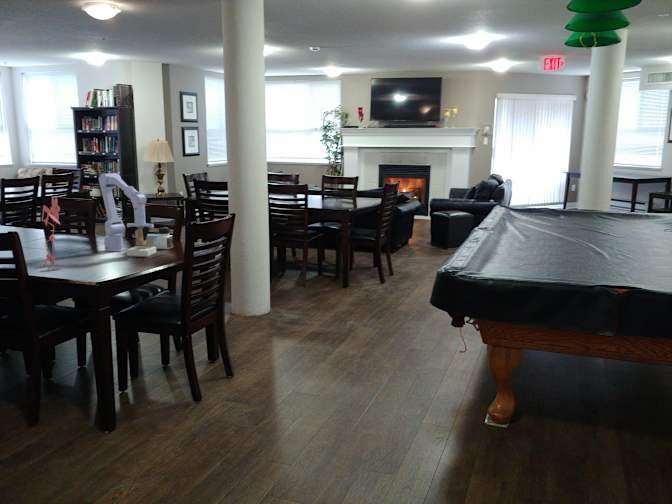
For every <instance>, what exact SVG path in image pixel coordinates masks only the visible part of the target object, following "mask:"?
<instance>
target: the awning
mask: <svg viewBox="0 0 672 504" xmlns="http://www.w3.org/2000/svg"><path fill="white" fill-rule="evenodd" d="M160 236H161V234H159V233H148V235H147V239H146V244H145V245H143V246H150V247H156V238H158V237H160ZM133 237H134V238H135V236H133Z"/></svg>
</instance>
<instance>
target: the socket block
mask: <svg viewBox="0 0 672 504" xmlns="http://www.w3.org/2000/svg"><path fill="white" fill-rule="evenodd" d="M125 250H126V257H134V258H135V257H138V258H139V257H140V258H141V257H142V258H149V257H152V256H153V255H155V254H157V248H156V247H150V246H144V245H135V246H132V247H130V248H127V249H125Z"/></svg>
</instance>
